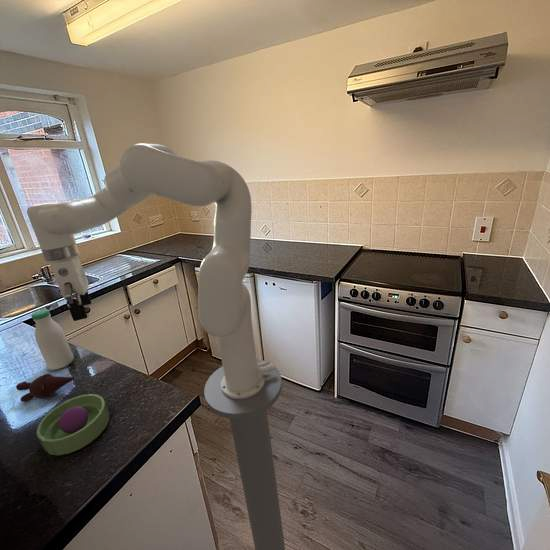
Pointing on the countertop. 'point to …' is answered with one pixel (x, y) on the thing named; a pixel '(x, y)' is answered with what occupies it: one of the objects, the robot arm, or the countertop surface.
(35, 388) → the brown gnome figurine
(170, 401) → the countertop surface
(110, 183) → the robot arm
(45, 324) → the milk bottle
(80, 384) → the countertop surface
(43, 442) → the bowl
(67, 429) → the ball
